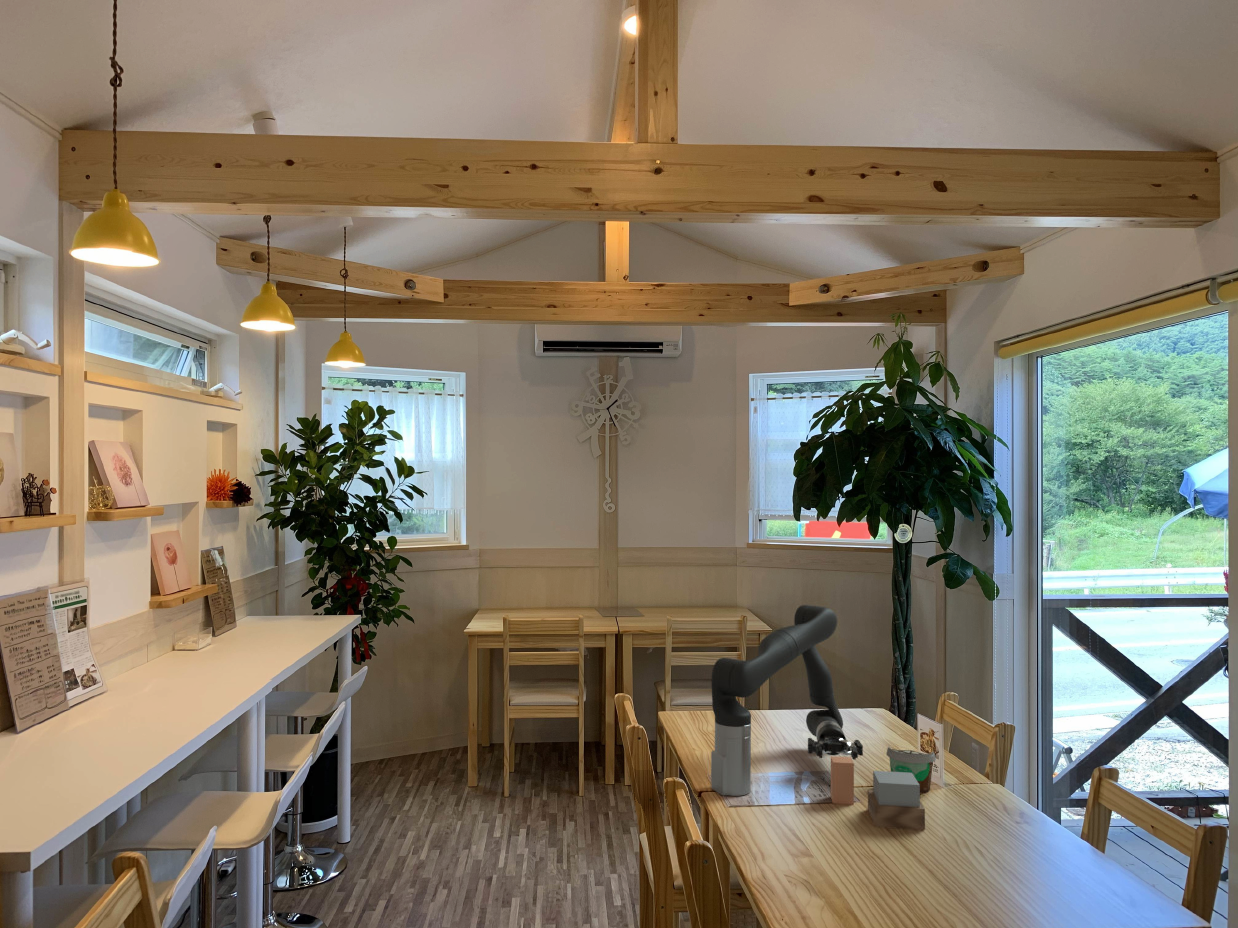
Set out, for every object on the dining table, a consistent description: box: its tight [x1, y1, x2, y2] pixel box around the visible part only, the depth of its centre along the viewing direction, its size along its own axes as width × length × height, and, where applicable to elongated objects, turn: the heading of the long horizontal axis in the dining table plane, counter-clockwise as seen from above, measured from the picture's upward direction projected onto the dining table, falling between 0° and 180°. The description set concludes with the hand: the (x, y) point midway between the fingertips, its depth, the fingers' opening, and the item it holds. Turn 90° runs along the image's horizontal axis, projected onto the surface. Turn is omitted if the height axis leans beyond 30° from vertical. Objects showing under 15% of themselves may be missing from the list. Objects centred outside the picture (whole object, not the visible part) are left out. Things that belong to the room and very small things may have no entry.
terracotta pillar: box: [830, 755, 855, 806], centre depth 214 cm, size 5×5×10 cm
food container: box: [886, 746, 936, 794], centre depth 222 cm, size 12×6×10 cm, turn 62°
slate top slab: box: [872, 770, 921, 807], centre depth 202 cm, size 9×9×5 cm
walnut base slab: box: [867, 789, 926, 831], centre depth 202 cm, size 11×11×5 cm
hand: (837, 754), depth 224 cm, fingers open, 8 cm apart
